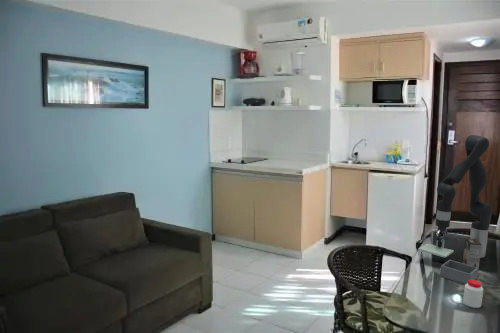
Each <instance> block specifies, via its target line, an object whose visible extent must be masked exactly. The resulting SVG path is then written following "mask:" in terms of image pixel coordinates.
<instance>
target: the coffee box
mask: <svg viewBox="0 0 500 333" xmlns="http://www.w3.org/2000/svg"><path fill="white" fill-rule="evenodd" d="M481 246H482V244H481V243H480V242H479V241H478V240H477V239H471V238H470V237H469V238H468V237H466V238H465V239H464V249H463V256H462V263H463V264H467V265H470V266H474V267H477V268H478V270H479V267H480V260H481V258H480V253H481Z"/></svg>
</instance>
